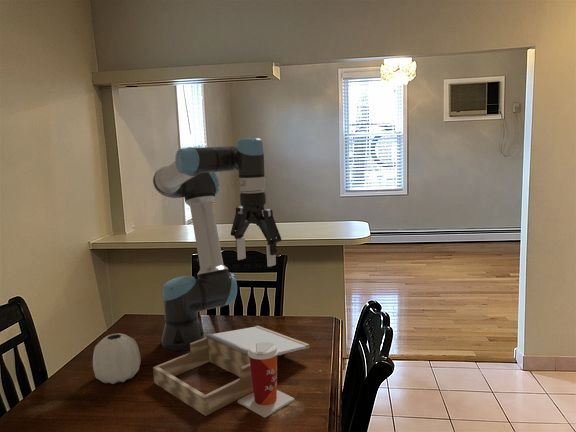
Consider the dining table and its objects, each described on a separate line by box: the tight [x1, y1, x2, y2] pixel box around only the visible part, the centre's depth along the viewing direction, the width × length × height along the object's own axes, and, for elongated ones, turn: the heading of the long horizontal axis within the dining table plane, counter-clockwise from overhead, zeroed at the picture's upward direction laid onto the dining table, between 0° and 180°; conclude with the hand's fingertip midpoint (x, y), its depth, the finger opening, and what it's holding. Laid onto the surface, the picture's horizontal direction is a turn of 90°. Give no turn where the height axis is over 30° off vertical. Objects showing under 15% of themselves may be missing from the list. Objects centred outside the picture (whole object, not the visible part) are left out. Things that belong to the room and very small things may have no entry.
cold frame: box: [152, 336, 254, 417], centre depth 137 cm, size 26×20×8 cm
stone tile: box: [237, 389, 295, 419], centre depth 127 cm, size 11×11×1 cm
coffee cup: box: [248, 342, 278, 405], centre depth 126 cm, size 8×8×15 cm
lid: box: [206, 325, 310, 355], centre depth 151 cm, size 26×22×5 cm
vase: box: [92, 332, 142, 385], centre depth 143 cm, size 14×14×13 cm
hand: (256, 262), depth 140 cm, fingers open, 13 cm apart
